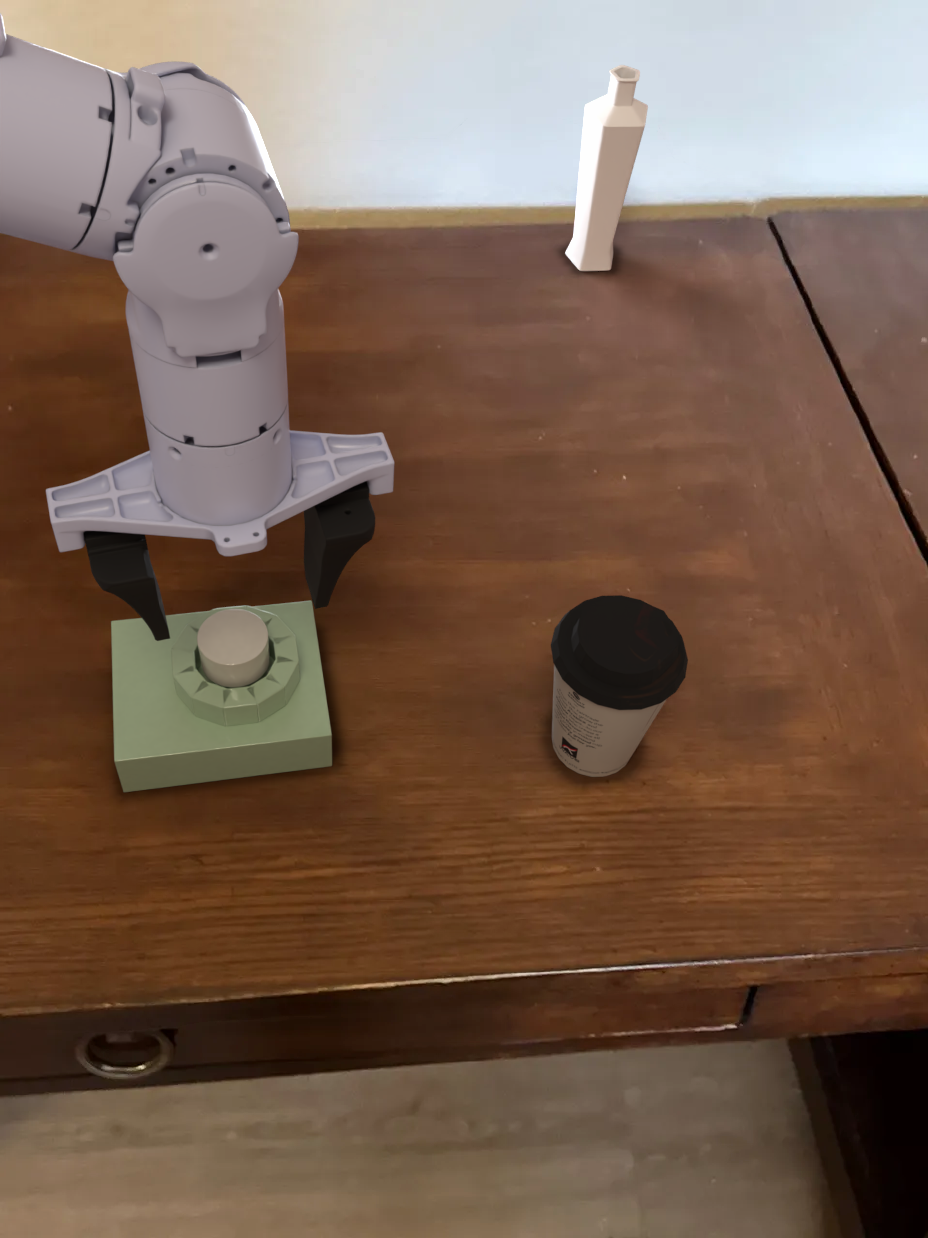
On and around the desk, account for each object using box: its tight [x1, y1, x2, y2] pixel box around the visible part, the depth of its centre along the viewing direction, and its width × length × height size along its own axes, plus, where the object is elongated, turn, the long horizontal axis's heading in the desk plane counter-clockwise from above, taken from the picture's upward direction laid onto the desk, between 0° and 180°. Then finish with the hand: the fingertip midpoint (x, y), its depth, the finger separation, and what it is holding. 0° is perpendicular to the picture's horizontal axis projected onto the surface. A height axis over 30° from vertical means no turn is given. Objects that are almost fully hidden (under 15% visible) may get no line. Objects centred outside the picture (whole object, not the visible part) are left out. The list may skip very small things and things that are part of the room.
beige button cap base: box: [110, 600, 333, 793], centre depth 65 cm, size 11×9×5 cm
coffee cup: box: [550, 594, 689, 778], centre depth 64 cm, size 7×7×10 cm
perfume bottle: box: [564, 64, 649, 272], centre depth 89 cm, size 5×4×15 cm
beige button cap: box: [197, 609, 270, 687], centre depth 63 cm, size 4×4×2 cm
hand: (239, 607), depth 59 cm, fingers open, 7 cm apart
